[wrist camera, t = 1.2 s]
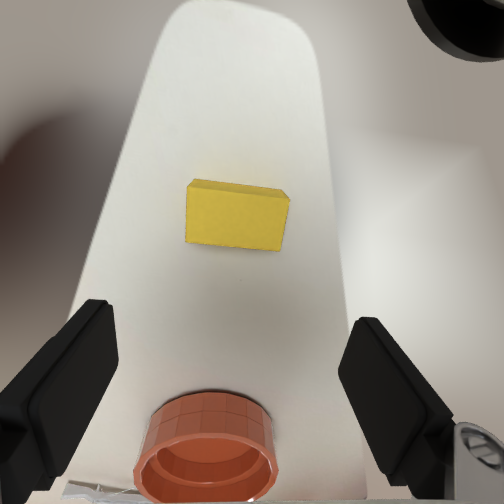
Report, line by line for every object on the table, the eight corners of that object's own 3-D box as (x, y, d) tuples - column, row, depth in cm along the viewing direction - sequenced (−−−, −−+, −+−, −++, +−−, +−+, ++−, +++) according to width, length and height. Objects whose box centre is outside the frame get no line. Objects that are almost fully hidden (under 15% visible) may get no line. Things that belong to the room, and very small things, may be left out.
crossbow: (195, 470, 37) (194, 487, 36) (167, 512, 42) (165, 530, 40) (76, 457, 33) (67, 477, 31) (58, 506, 37) (50, 526, 35)
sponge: (194, 178, 20) (187, 186, 17) (281, 189, 21) (290, 199, 18) (192, 227, 22) (185, 242, 18) (273, 235, 22) (279, 251, 19)
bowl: (281, 389, 31) (290, 434, 26) (262, 465, 37) (266, 512, 32) (145, 385, 29) (129, 431, 24) (149, 465, 35) (136, 514, 30)
